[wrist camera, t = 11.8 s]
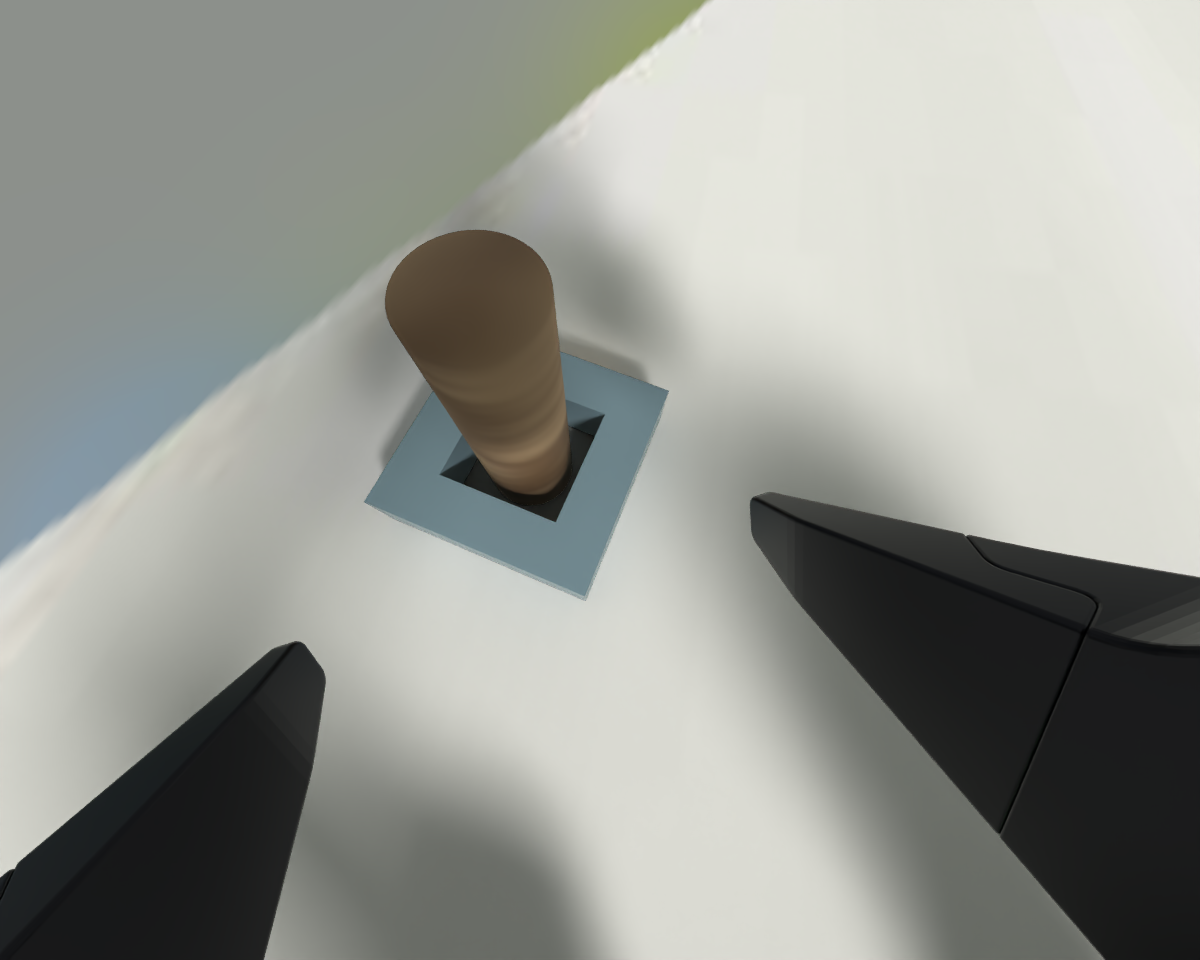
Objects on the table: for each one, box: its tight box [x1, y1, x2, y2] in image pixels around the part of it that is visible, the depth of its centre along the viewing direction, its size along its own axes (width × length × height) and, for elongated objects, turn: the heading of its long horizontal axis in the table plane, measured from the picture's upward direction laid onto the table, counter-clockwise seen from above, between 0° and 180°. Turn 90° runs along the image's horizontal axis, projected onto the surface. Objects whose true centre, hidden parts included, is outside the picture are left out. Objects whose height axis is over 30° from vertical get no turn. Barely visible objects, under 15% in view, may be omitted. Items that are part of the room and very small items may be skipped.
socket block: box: [364, 351, 669, 601], centre depth 22 cm, size 11×11×3 cm
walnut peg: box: [385, 230, 572, 505], centre depth 18 cm, size 4×4×13 cm
